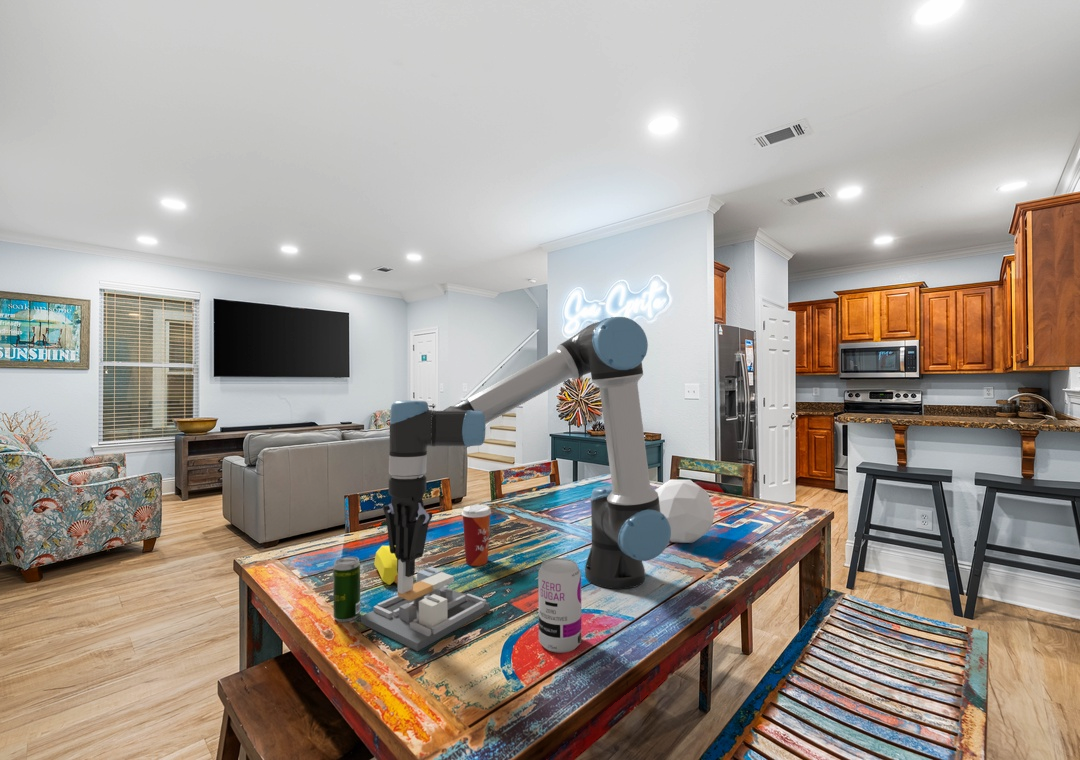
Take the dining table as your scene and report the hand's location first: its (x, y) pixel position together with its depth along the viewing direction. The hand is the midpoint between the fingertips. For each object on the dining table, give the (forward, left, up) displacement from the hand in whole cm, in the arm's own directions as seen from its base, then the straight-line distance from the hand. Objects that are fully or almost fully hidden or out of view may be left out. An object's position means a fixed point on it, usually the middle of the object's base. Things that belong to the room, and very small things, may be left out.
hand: (405, 590), depth 100 cm
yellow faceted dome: (+25, -16, -8) cm, 30 cm away
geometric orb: (-27, -85, -8) cm, 89 cm away
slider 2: (-6, -2, -6) cm, 9 cm away
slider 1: (+6, -12, -6) cm, 14 cm away
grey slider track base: (0, -6, -8) cm, 9 cm away
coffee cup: (+13, -35, -8) cm, 38 cm away
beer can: (+14, +4, -8) cm, 16 cm away
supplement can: (-29, -14, -8) cm, 33 cm away
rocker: (0, -6, -2) cm, 6 cm away
